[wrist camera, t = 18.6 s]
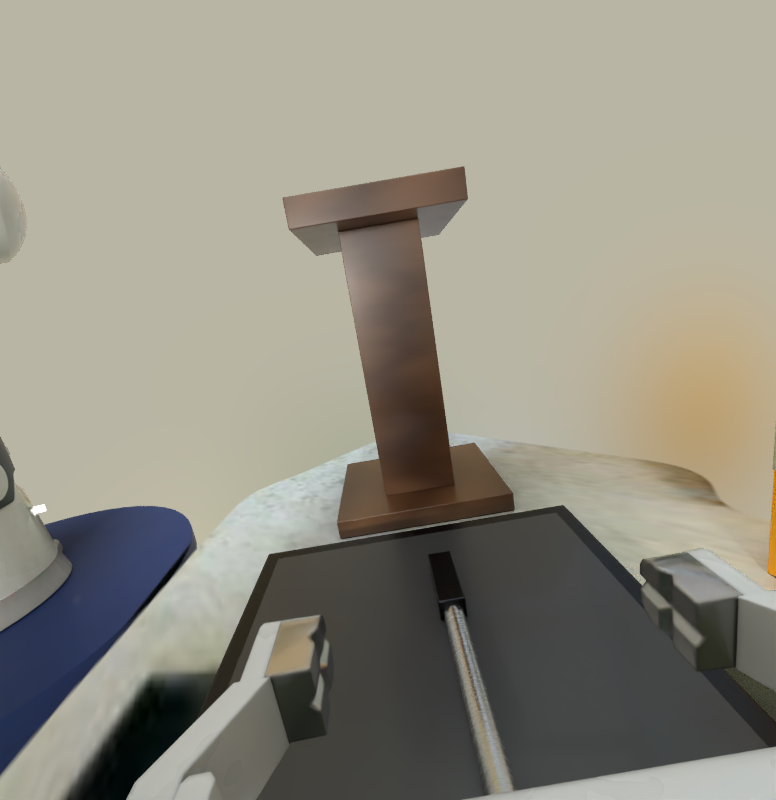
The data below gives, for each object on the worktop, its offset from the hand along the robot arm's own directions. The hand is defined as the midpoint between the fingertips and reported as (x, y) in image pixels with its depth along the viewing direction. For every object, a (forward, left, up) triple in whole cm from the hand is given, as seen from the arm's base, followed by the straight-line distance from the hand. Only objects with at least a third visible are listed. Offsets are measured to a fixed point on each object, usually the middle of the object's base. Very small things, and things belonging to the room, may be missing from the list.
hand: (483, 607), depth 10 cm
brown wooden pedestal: (0, +25, -9) cm, 27 cm away
